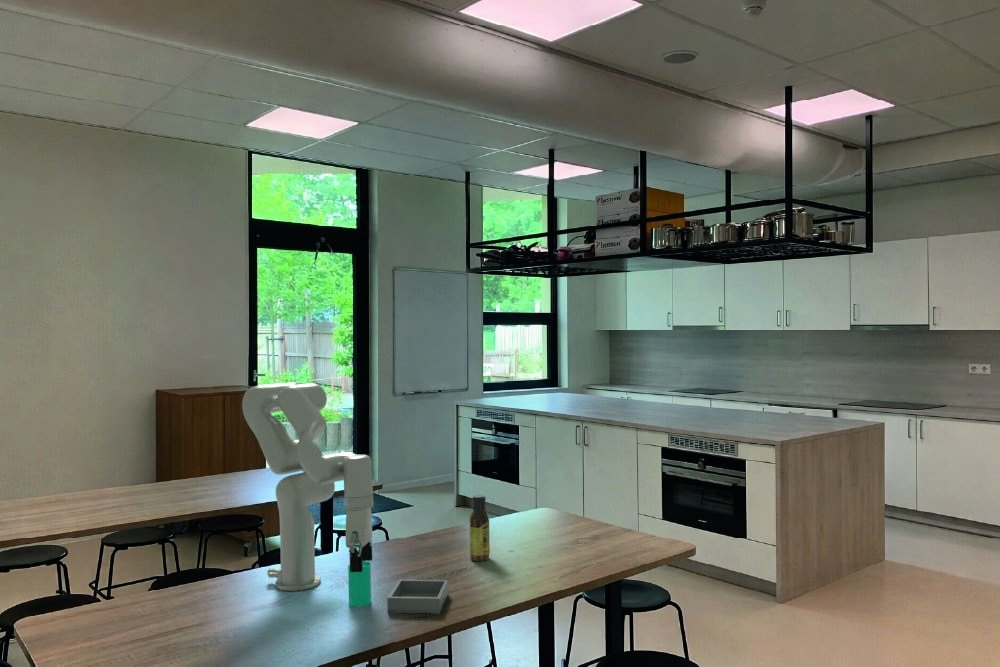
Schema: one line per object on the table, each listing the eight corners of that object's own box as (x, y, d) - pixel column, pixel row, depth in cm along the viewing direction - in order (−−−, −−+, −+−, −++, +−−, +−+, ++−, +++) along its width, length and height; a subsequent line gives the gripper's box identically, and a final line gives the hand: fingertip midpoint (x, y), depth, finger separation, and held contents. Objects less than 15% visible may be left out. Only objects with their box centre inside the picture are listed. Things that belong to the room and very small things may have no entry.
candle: (360, 608, 192) (359, 563, 192) (343, 604, 195) (343, 559, 195) (376, 601, 197) (375, 556, 197) (359, 597, 200) (358, 553, 200)
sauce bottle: (487, 562, 228) (486, 498, 228) (467, 561, 230) (466, 498, 230) (491, 556, 235) (490, 494, 235) (472, 555, 236) (471, 493, 236)
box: (387, 613, 189) (387, 597, 189) (399, 594, 202) (399, 579, 202) (439, 614, 188) (439, 598, 188) (448, 594, 201) (447, 580, 201)
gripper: (354, 495, 205) (356, 556, 205) (335, 509, 188) (337, 576, 187) (380, 494, 204) (383, 556, 204) (363, 508, 187) (366, 576, 187)
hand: (361, 565), depth 196 cm, fingers open, 9 cm apart
